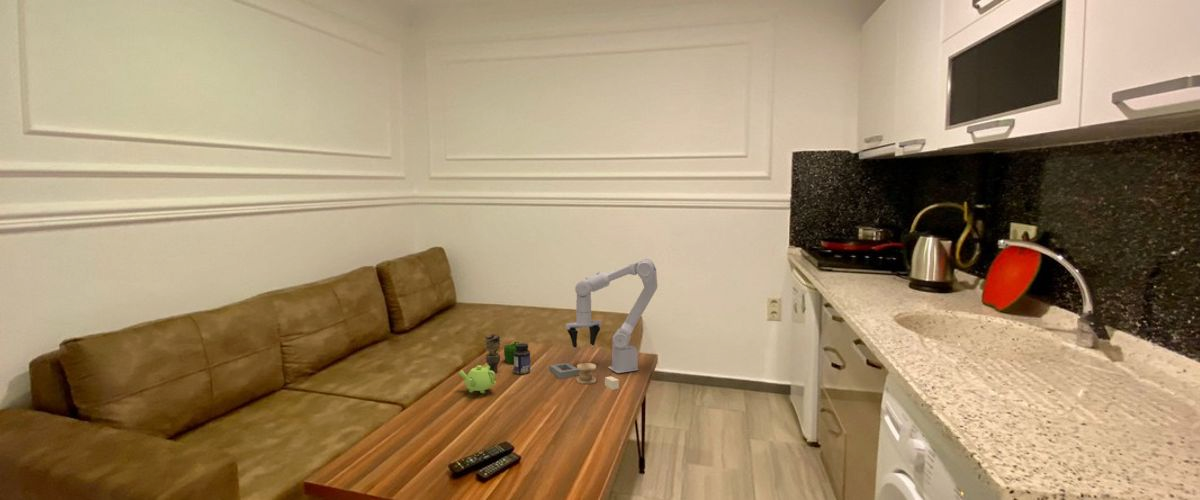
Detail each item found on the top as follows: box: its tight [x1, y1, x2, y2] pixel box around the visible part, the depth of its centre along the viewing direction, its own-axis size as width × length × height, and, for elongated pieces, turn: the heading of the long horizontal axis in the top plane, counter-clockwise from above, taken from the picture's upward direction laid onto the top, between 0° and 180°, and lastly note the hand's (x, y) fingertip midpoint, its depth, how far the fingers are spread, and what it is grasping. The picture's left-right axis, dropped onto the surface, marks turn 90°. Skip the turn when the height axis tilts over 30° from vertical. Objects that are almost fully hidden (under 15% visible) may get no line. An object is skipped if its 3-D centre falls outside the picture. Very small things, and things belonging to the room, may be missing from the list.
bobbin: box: [576, 362, 597, 385], centre depth 187 cm, size 7×7×6 cm
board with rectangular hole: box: [549, 362, 580, 380], centre depth 195 cm, size 8×10×2 cm
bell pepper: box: [503, 340, 520, 365], centre depth 207 cm, size 8×8×10 cm
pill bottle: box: [513, 342, 531, 376], centre depth 196 cm, size 6×6×11 cm
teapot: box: [458, 364, 497, 394], centre depth 177 cm, size 11×12×8 cm
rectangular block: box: [604, 376, 620, 391], centre depth 181 cm, size 3×5×3 cm, turn 33°
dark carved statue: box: [485, 333, 501, 373], centre depth 195 cm, size 6×6×15 cm
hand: (583, 345), depth 201 cm, fingers open, 7 cm apart
